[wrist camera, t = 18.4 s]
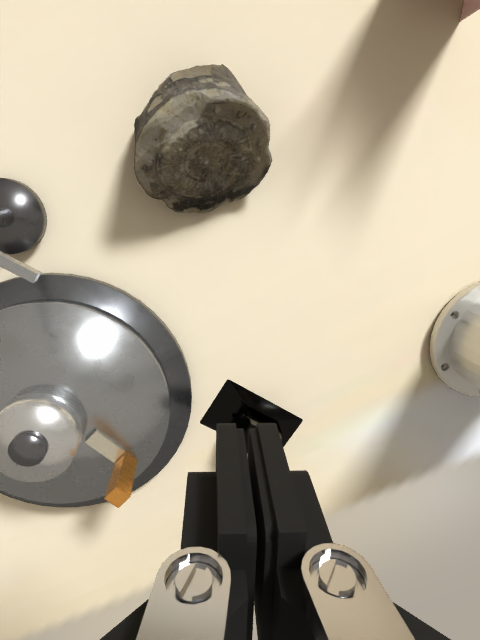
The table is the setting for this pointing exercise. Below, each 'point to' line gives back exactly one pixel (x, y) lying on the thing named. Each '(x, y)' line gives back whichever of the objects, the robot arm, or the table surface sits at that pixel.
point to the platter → (87, 394)
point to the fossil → (201, 141)
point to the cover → (40, 433)
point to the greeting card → (469, 8)
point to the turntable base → (143, 324)
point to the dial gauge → (19, 226)
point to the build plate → (248, 412)
